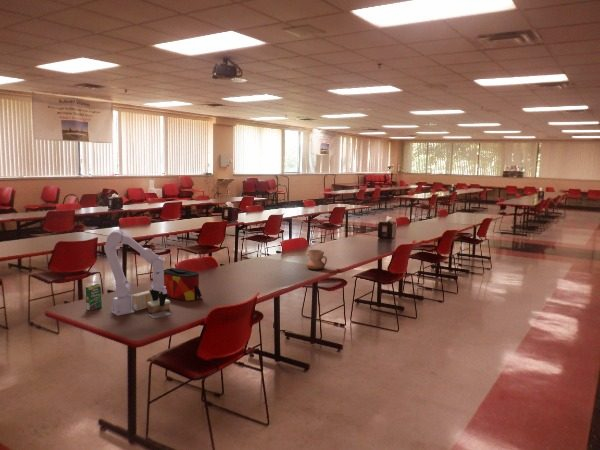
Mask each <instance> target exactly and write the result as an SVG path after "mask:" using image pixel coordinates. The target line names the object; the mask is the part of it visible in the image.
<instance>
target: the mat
mask: <svg viewBox="0 0 600 450" xmlns="http://www.w3.org/2000/svg"><path fill="white" fill-rule="evenodd" d="M147 315H148V317H150V318H152V319H159V318H163V317H168V316H172V315H173V314H172V313H171V312H169V311H168V310H167V311H162V312H158V313H153V314H152V313H149V314H147Z"/></svg>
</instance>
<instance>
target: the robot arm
mask: <svg viewBox="0 0 600 450" xmlns="http://www.w3.org/2000/svg"><path fill="white" fill-rule="evenodd" d="M119 244H121V245H128V246H129V247H131V248H132V249H133V250H135V251H136V252H138V253H139V256H140V258H142V259H143V260H145V261H146V262H147V263H149V264H150V265H151V267H152V284H151V285H150V290H148V291H149V292H150V293H151V295H152V299H153V301H156V300H159V303H160V306H164V304H165V300H166V299H167V295H168V293H167V290H166V289H165V288H166V286H164V270H165V269H164V265H165V260H164V258H163V257H162V256H160V255H159V254H156V253H155V252H153V250H152V249H151V248H148V247H144V246H142V245H141V244H140V243H138V242H137V241H136V240H135V239H133V237H131V236H130V235H129V234H128V233H127V232H124V231H123V230H121V229H114V230H113V231H112V232H110V234H108V236H107V237H106V242H105V244H104V252H105V254H106V258H107V261H108V263H109V267H110V269H111V272H112V275H113V278H114V280H115V281H114V282H115V287H116V291H115V293H116V296H115V297H112V298H111V313H112V314H114V315H115V316H122V315H128V314H132V313H135V311H136V310H133V309H132V293H131V292H130V291H131V290H132V284H131V283H130V282H129V281H128V278H127V277H126V276H125V274H124V273H125V272H124V271H123V267H122V265H121V262H120V260H119V256H118V253H117V251H116V249H117V247H118V245H119Z"/></svg>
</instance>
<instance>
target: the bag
mask: <svg viewBox="0 0 600 450" xmlns="http://www.w3.org/2000/svg"><path fill="white" fill-rule="evenodd" d="M164 286H166V288H165V289H166V290H167V293H168V295H167V297H166V299H167V298H168V299H172V300H176V301H180V302H195V301H198V300H199V299H200V298H202V292H201V290H200V273H199V272H198V271H192V270H188V269H183V268H177V267H171V268H166V269H164Z"/></svg>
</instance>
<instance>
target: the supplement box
mask: <svg viewBox="0 0 600 450" xmlns="http://www.w3.org/2000/svg"><path fill="white" fill-rule="evenodd" d="M151 301H153V299H152V295H151V293H150V292H149V290H146V291H142V292H137V293H134V294H131V306H132V310H133V311H139V310H144V309H147V308H148V304H147V302H151Z"/></svg>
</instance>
